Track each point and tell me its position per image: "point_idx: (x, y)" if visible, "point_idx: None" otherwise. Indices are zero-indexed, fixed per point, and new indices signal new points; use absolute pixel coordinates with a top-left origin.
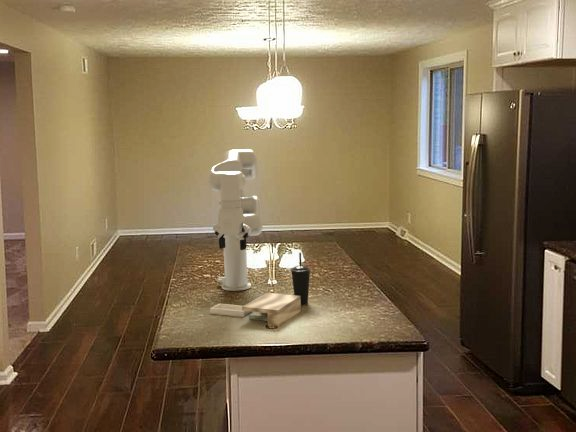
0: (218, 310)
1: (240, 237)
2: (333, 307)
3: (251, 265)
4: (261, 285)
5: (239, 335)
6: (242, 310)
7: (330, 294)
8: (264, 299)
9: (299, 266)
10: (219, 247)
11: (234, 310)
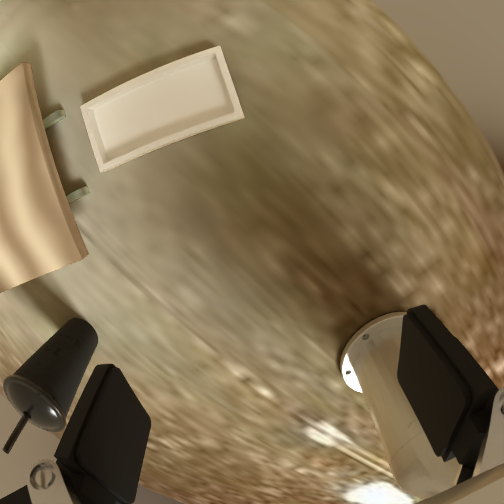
0: (181, 60)
1: (60, 490)
2: (18, 339)
3: None
4: (330, 405)
5: (9, 16)
6: (29, 64)
7: None
8: (22, 183)
9: (22, 408)
10: (428, 308)
11: (114, 91)
